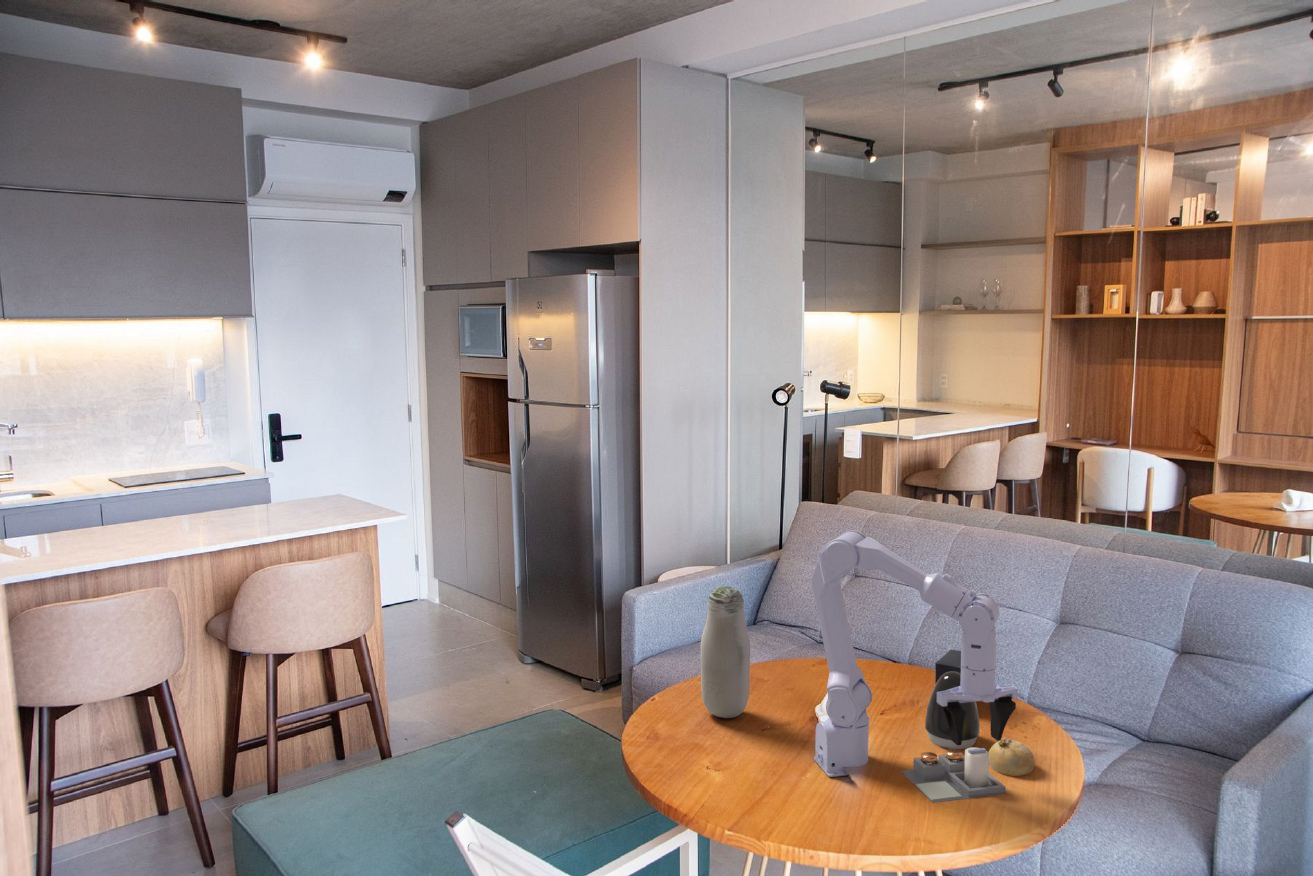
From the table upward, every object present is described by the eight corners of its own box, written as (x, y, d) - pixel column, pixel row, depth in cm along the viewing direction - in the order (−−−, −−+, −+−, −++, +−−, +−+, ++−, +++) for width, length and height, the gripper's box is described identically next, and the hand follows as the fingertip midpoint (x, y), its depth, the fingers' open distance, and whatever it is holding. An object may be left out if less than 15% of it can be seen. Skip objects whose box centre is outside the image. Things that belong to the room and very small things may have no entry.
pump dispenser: (983, 760, 178) (985, 683, 176) (926, 756, 180) (928, 679, 178) (976, 738, 188) (978, 664, 186) (922, 734, 190) (924, 661, 188)
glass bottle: (692, 717, 200) (691, 588, 197) (721, 702, 207) (721, 578, 204) (730, 729, 193) (729, 596, 190) (758, 713, 201) (758, 586, 198)
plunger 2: (951, 771, 169) (951, 756, 168) (943, 764, 171) (943, 750, 171) (965, 770, 169) (965, 755, 169) (957, 763, 172) (957, 748, 172)
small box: (949, 693, 212) (950, 648, 211) (978, 699, 208) (979, 653, 207) (932, 708, 203) (933, 661, 202) (962, 714, 199) (964, 667, 198)
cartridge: (971, 791, 163) (972, 755, 162) (959, 781, 166) (960, 746, 166) (992, 789, 163) (993, 753, 163) (980, 778, 167) (981, 743, 167)
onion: (1001, 761, 178) (1002, 725, 177) (1042, 775, 172) (1043, 738, 171) (979, 775, 172) (980, 737, 171) (1021, 790, 166) (1022, 751, 166)
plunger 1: (925, 774, 168) (925, 759, 167) (918, 767, 170) (918, 752, 170) (939, 773, 168) (940, 758, 168) (932, 766, 171) (932, 751, 171)
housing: (932, 811, 159) (932, 789, 159) (899, 778, 171) (900, 758, 170) (1006, 802, 162) (1007, 781, 161) (969, 771, 174) (970, 751, 173)
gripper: (951, 677, 158) (950, 754, 159) (1029, 670, 161) (1026, 746, 162) (931, 663, 164) (929, 737, 166) (1005, 656, 167) (1003, 729, 169)
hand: (976, 740), depth 164 cm, fingers open, 7 cm apart
